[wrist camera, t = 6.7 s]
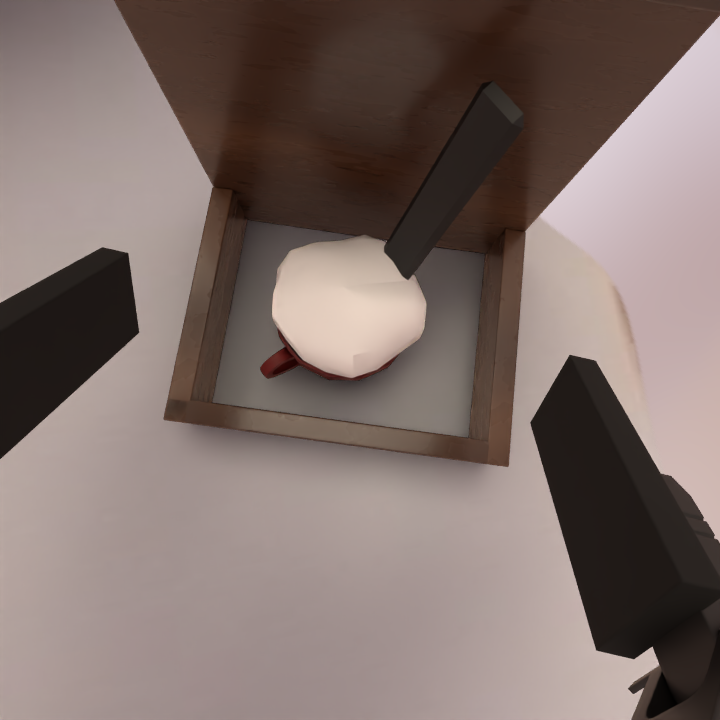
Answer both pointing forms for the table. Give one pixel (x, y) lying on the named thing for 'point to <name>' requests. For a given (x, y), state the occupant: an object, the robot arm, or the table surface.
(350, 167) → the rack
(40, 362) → the robot arm
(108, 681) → the table surface
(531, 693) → the table surface
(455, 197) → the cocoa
